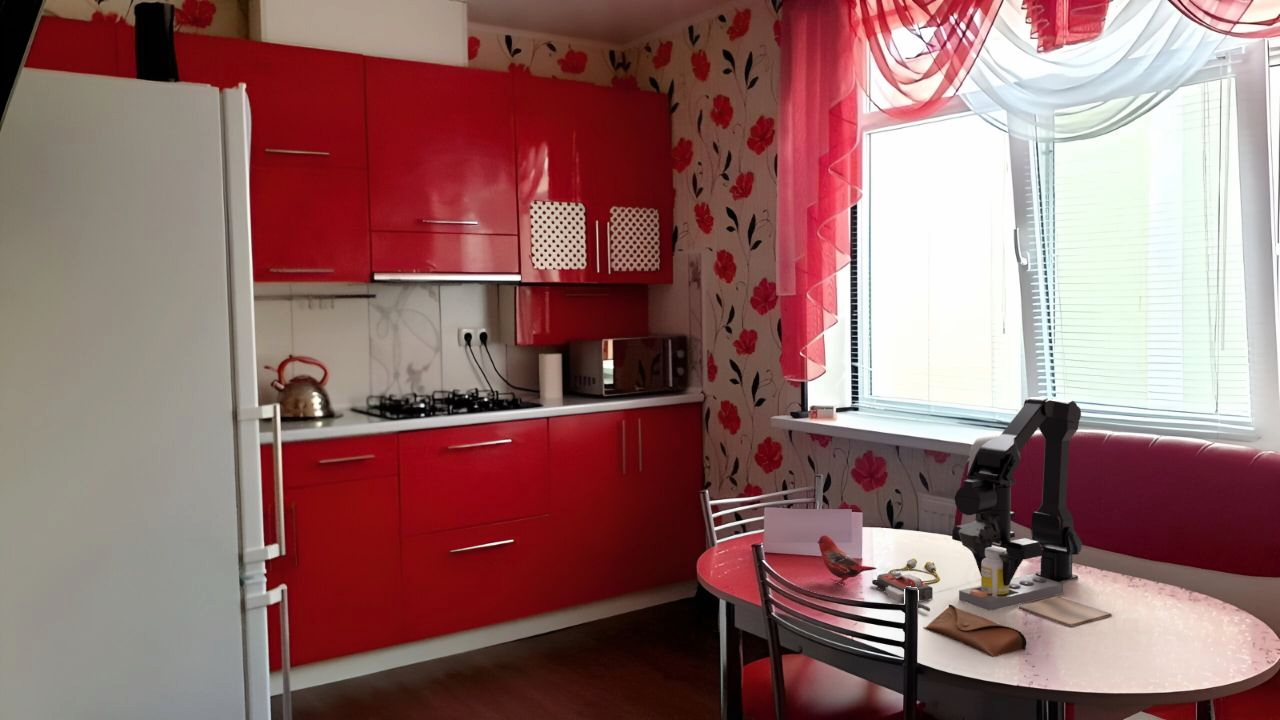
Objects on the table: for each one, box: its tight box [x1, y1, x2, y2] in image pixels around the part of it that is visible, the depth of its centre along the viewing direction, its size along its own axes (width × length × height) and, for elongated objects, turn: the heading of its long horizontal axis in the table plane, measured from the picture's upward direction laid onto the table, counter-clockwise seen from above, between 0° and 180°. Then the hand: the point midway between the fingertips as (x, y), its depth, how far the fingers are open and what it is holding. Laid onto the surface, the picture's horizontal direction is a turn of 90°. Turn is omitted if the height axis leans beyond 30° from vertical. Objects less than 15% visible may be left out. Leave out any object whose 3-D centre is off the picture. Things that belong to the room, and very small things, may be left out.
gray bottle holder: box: [958, 573, 1064, 612], centre depth 200 cm, size 22×8×3 cm, turn 118°
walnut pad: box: [1018, 596, 1112, 628], centre depth 190 cm, size 12×12×1 cm
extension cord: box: [887, 558, 941, 585], centre depth 216 cm, size 12×16×2 cm
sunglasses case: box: [923, 604, 1027, 658], centre depth 178 cm, size 18×7×7 cm, turn 30°
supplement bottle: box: [980, 546, 1009, 598], centre depth 198 cm, size 5×5×10 cm
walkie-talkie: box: [871, 571, 934, 612], centre depth 200 cm, size 9×4×20 cm
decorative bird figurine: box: [816, 534, 878, 586], centre depth 208 cm, size 3×18×10 cm, turn 33°
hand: (995, 581), depth 198 cm, fingers closed on supplement bottle, 5 cm apart
